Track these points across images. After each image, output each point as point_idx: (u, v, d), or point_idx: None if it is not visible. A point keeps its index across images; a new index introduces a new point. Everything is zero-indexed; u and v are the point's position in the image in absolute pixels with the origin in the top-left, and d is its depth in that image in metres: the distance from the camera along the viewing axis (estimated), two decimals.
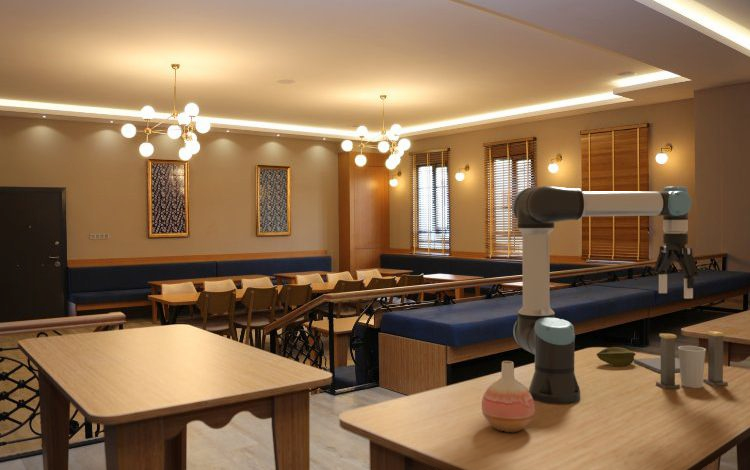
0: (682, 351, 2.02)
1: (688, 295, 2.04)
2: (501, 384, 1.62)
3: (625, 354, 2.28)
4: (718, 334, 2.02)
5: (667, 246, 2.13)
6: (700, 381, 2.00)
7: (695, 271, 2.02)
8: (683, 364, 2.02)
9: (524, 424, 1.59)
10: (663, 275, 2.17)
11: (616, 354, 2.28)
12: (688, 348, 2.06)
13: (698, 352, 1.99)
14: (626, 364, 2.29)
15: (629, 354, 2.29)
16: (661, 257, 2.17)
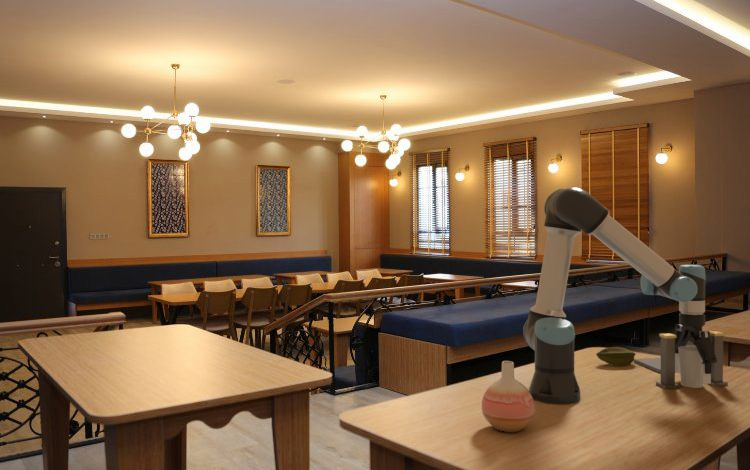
0: (682, 351, 2.02)
1: (706, 380, 1.96)
2: (501, 384, 1.62)
3: (625, 354, 2.28)
4: (718, 334, 2.02)
5: (683, 326, 2.05)
6: (700, 381, 2.00)
7: (713, 356, 1.93)
8: (683, 364, 2.02)
9: (524, 424, 1.59)
10: None
11: (616, 354, 2.28)
12: (688, 348, 2.06)
13: (698, 352, 1.99)
14: (626, 364, 2.29)
15: (629, 354, 2.29)
16: (677, 335, 2.09)
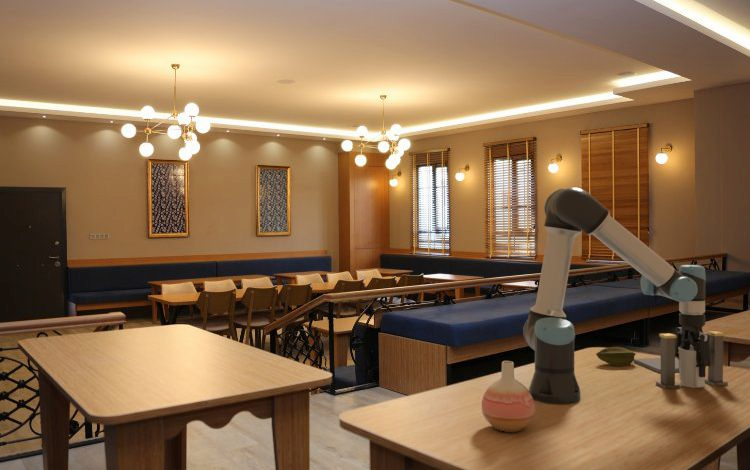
0: (682, 351, 2.01)
1: (700, 383, 1.99)
2: (501, 384, 1.62)
3: (625, 354, 2.28)
4: (718, 334, 2.02)
5: (682, 325, 2.05)
6: None
7: (708, 360, 1.96)
8: (683, 364, 2.02)
9: (524, 424, 1.59)
10: None
11: (615, 354, 2.28)
12: None
13: None
14: (626, 364, 2.29)
15: (629, 354, 2.29)
16: (679, 339, 2.08)
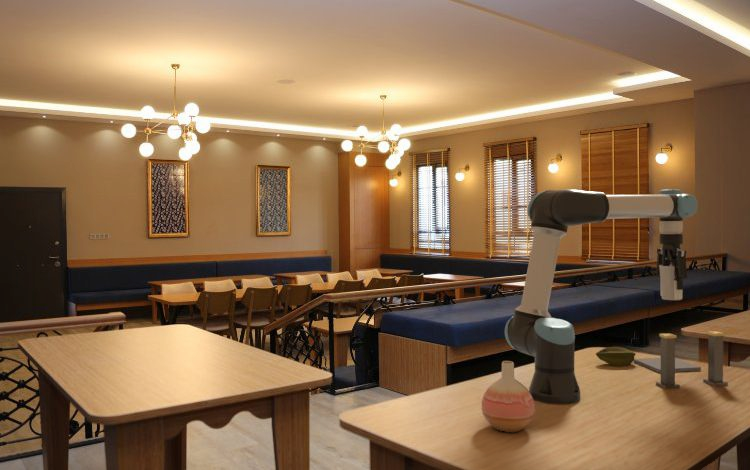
0: (662, 267, 2.21)
1: (678, 296, 2.19)
2: (501, 384, 1.62)
3: (624, 354, 2.28)
4: (718, 334, 2.02)
5: (663, 245, 2.25)
6: None
7: (685, 274, 2.16)
8: (663, 279, 2.22)
9: (524, 424, 1.59)
10: None
11: (615, 354, 2.28)
12: None
13: None
14: (625, 364, 2.29)
15: (628, 354, 2.29)
16: (660, 259, 2.28)
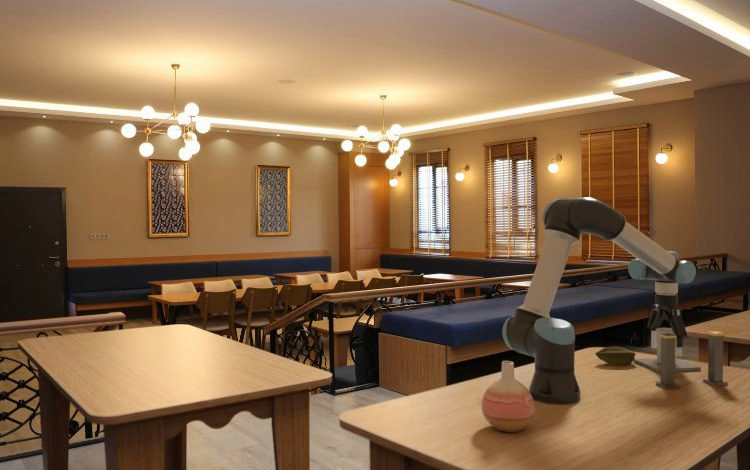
0: (659, 332, 2.26)
1: (678, 353, 2.21)
2: (501, 384, 1.62)
3: (624, 354, 2.28)
4: (718, 334, 2.02)
5: (659, 305, 2.30)
6: None
7: (684, 332, 2.18)
8: (659, 344, 2.26)
9: (524, 424, 1.59)
10: (655, 331, 2.34)
11: (614, 354, 2.28)
12: (665, 330, 2.31)
13: (673, 333, 2.23)
14: (625, 364, 2.29)
15: (628, 354, 2.29)
16: (653, 315, 2.34)
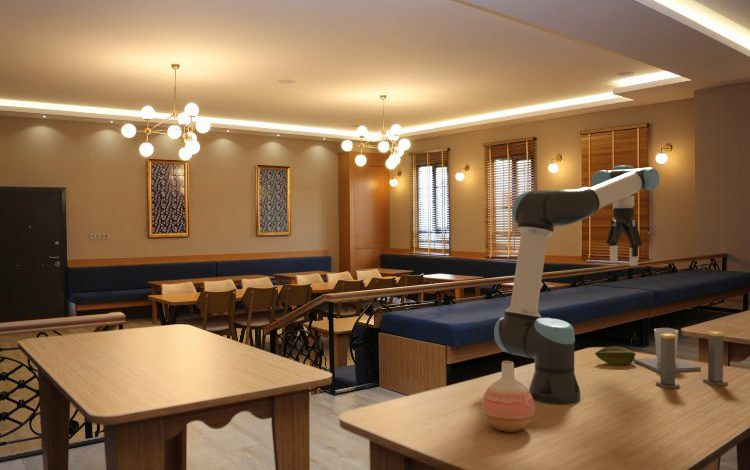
0: (657, 333, 2.26)
1: (633, 263, 2.28)
2: (501, 384, 1.62)
3: (624, 354, 2.29)
4: (718, 334, 2.02)
5: (616, 220, 2.37)
6: None
7: (639, 241, 2.25)
8: (658, 344, 2.26)
9: (524, 424, 1.59)
10: (614, 246, 2.41)
11: (614, 353, 2.29)
12: (663, 330, 2.31)
13: (671, 333, 2.23)
14: (625, 364, 2.29)
15: (628, 354, 2.29)
16: (612, 230, 2.41)
